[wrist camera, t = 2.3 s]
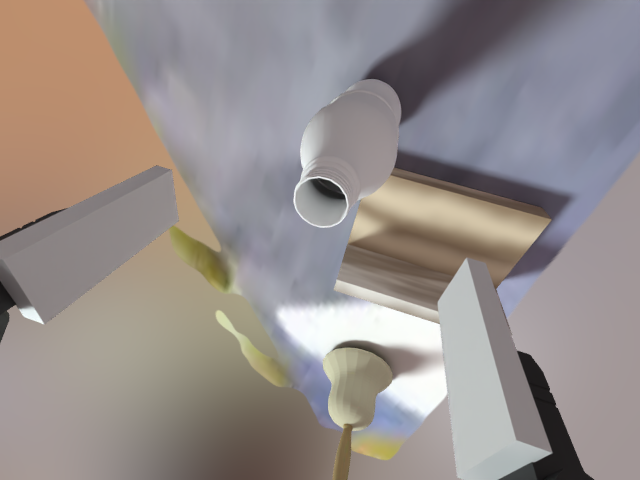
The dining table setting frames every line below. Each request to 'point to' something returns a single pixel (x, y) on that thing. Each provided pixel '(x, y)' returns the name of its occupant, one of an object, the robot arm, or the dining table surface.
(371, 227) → the board
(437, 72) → the dining table surface
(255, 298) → the dining table surface
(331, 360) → the handbell
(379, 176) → the water bottle
